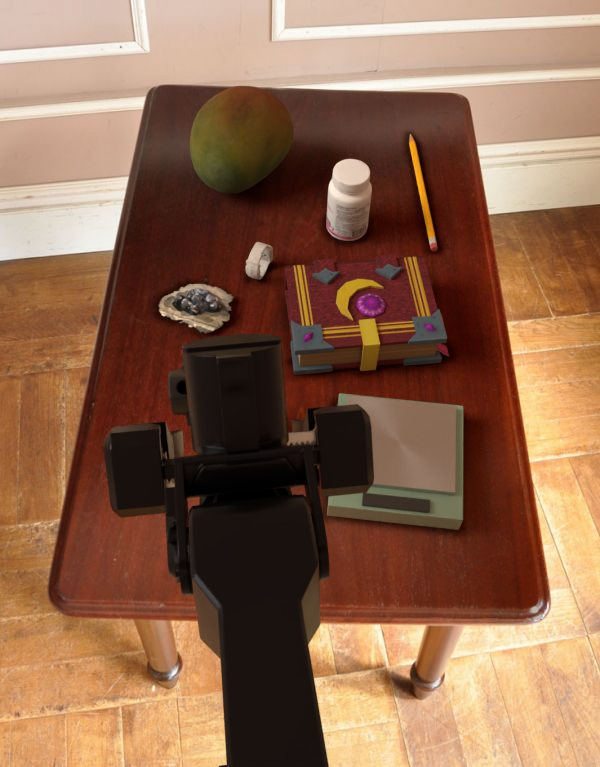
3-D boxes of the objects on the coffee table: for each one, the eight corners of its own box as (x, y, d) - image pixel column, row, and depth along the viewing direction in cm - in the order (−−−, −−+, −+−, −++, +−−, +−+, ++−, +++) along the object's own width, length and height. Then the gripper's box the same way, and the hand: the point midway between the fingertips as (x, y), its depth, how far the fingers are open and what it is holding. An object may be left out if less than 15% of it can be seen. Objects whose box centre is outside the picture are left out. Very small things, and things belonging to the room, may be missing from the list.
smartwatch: (260, 288, 93) (260, 263, 89) (242, 282, 93) (241, 257, 90) (273, 265, 94) (273, 240, 91) (255, 259, 95) (255, 234, 92)
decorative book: (282, 290, 92) (283, 259, 88) (429, 279, 94) (436, 248, 90) (294, 377, 86) (295, 348, 82) (451, 364, 88) (459, 335, 83)
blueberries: (228, 338, 89) (227, 327, 87) (151, 332, 89) (149, 320, 87) (236, 288, 92) (236, 277, 91) (163, 282, 93) (161, 270, 91)
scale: (458, 530, 78) (464, 517, 75) (326, 515, 78) (328, 502, 76) (459, 417, 84) (464, 402, 82) (337, 404, 85) (339, 389, 82)
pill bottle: (327, 210, 99) (331, 153, 92) (368, 213, 99) (375, 157, 92) (324, 240, 97) (327, 185, 90) (366, 244, 96) (373, 189, 89)
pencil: (430, 251, 96) (431, 247, 96) (406, 136, 107) (407, 131, 106) (437, 251, 96) (438, 247, 96) (413, 135, 107) (413, 131, 106)
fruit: (296, 143, 105) (298, 73, 97) (285, 216, 99) (285, 148, 90) (203, 134, 106) (196, 65, 98) (184, 207, 99) (176, 138, 91)
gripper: (384, 355, 53) (345, 322, 68) (79, 382, 52) (109, 342, 67) (392, 524, 56) (353, 455, 71) (101, 554, 54) (125, 478, 69)
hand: (237, 430), depth 69 cm, fingers open, 9 cm apart
